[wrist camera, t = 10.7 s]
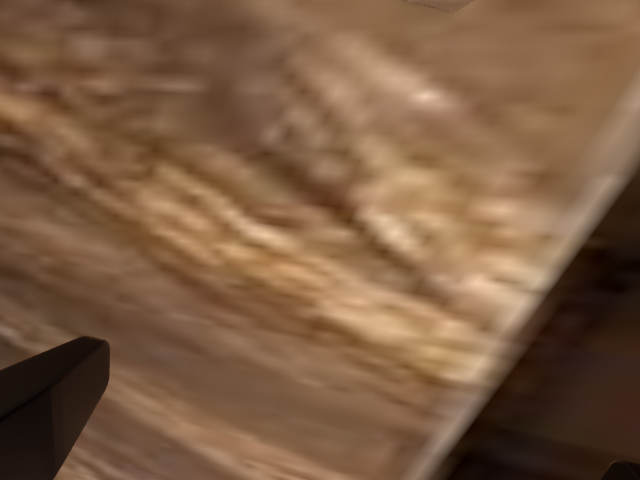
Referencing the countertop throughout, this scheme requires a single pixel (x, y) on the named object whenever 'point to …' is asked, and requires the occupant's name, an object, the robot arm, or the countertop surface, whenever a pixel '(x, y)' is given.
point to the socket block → (444, 4)
